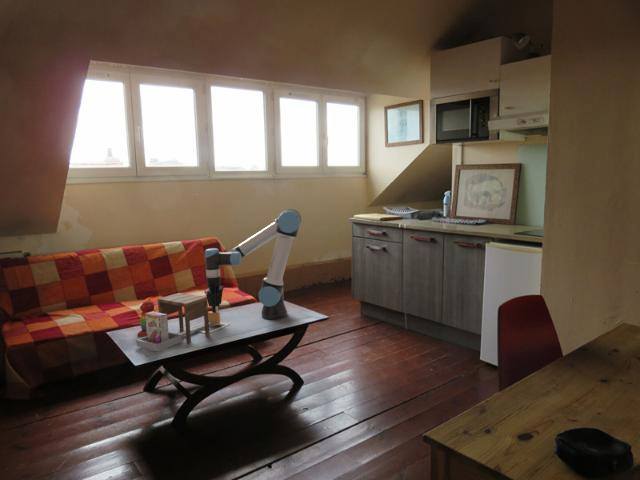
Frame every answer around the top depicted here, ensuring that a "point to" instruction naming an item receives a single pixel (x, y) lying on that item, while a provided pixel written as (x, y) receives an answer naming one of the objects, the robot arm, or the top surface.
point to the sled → (176, 335)
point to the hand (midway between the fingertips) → (216, 317)
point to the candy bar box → (156, 327)
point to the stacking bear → (145, 307)
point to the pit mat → (211, 327)
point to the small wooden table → (186, 310)
